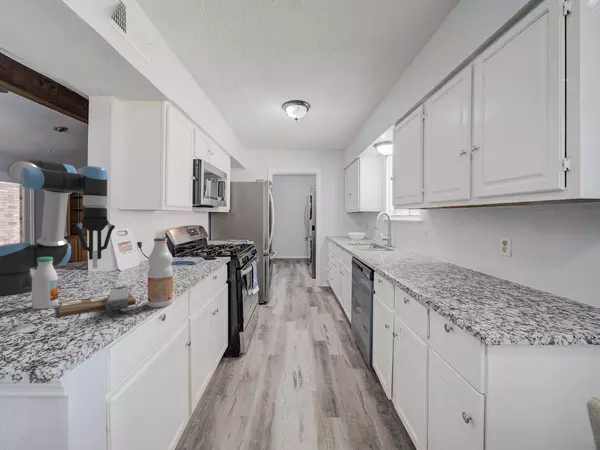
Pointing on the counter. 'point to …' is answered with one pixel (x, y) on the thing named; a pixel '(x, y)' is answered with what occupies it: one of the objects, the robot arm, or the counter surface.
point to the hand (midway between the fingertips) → (95, 267)
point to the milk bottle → (44, 285)
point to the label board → (87, 305)
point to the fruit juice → (160, 275)
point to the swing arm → (118, 299)
